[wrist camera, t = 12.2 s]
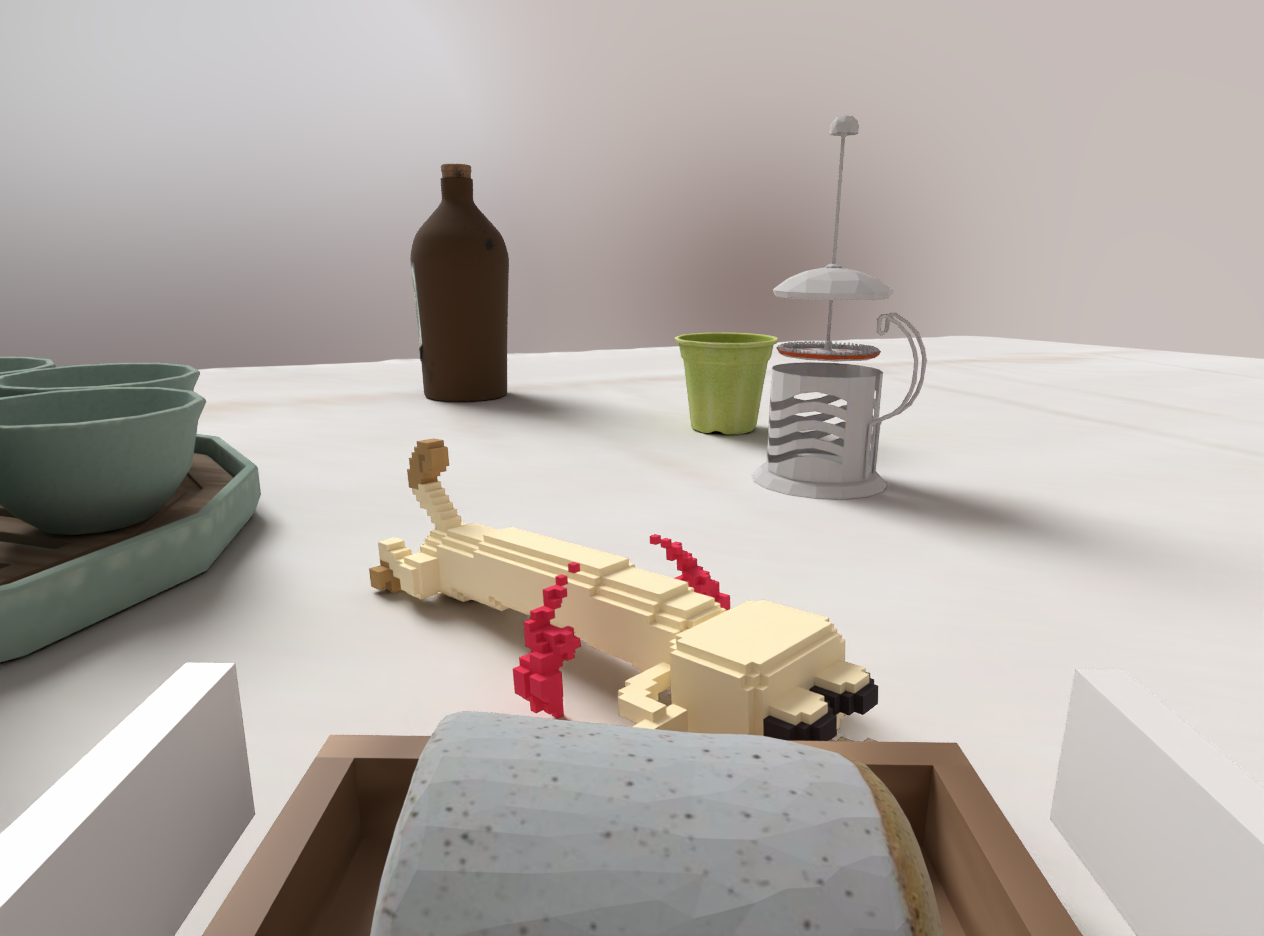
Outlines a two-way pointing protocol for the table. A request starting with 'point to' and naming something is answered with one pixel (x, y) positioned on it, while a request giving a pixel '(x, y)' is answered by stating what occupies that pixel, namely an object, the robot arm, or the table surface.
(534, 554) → the cat figure
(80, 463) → the tea set
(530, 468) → the table surface
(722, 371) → the plant pot
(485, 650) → the table surface
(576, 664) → the table surface
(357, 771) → the tray
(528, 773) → the ceramic mug
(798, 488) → the french press
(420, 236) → the olive oil
